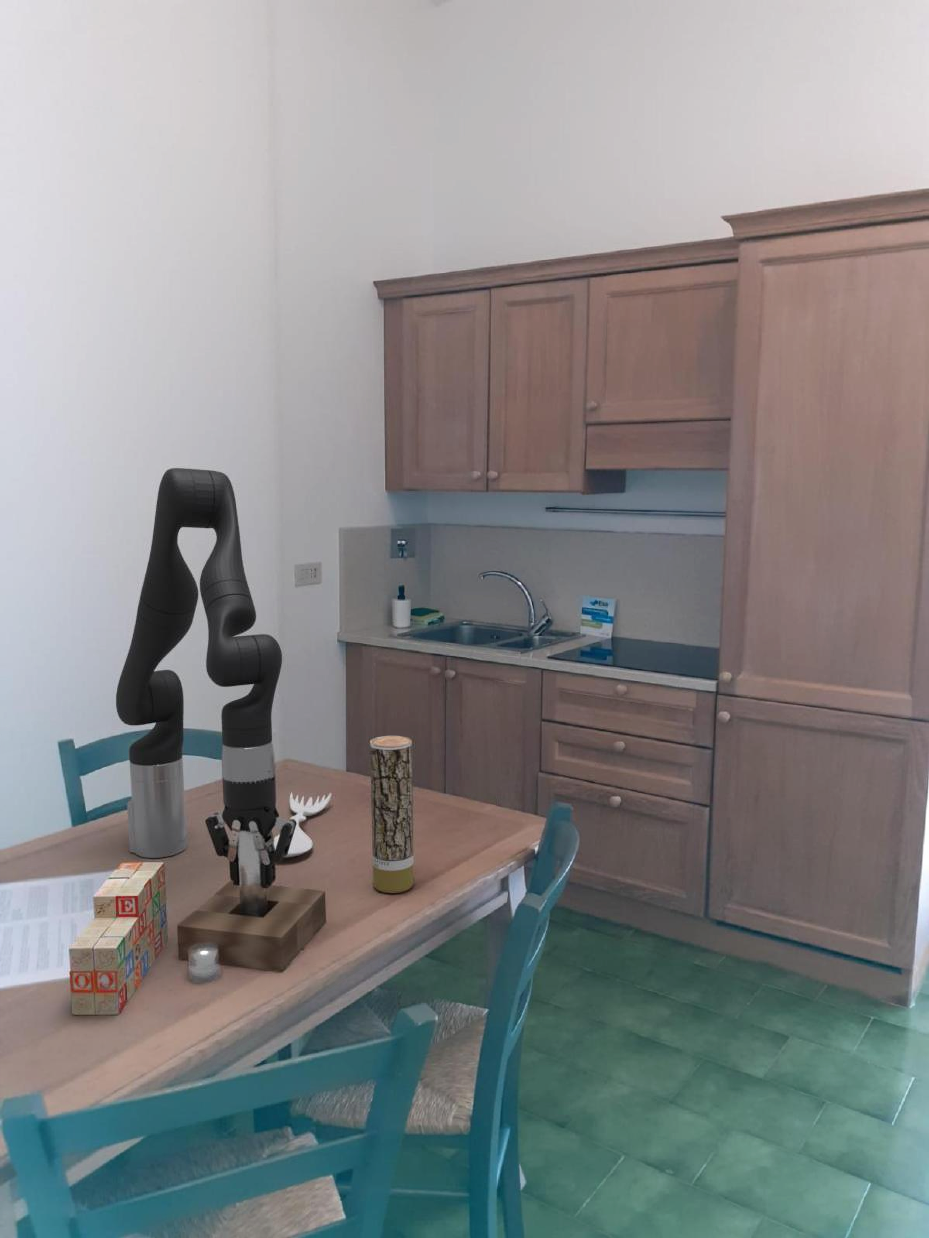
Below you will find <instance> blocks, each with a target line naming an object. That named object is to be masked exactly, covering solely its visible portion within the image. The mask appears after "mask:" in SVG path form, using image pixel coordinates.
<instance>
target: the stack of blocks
mask: <svg viewBox="0 0 929 1238" xmlns="http://www.w3.org/2000/svg"><path fill="white" fill-rule="evenodd" d="M165 879H166V878H165V863H164V862H162V861H160V862H157V861H156V862H152V861H151V862H148V861H144V862H122V863H121V864H119V866H118V867H117V868H116V869H115V870H113V871H112V872H111V874H110V875H109V876H108V878H107V879H106V880H105V881H104V882H103V884H102V885H101V886H100V888H99V889H98V890H97V891H96V893H95V894H94V895H93V897H92V898H93V916H94V917H93V919H92V920H91V921H90V922H89V923H88V925H86V927H85V928H84V929H83V930H82V931H81V932H80V933H79V935H78V936H77V937H76V939H75V940H74V942H73V943H72V944H71V945H70V947H69V949H68V955H69V957H68V958H69V969H70V970H69V985H70V986H69V987H70V988H69V989H70V997H71V999H70V1000H71V1013H72V1014H71V1015H76V1016H77V1015H81V1016H83V1015H85V1016H87V1015H88V1016H89V1015H92V1016H94V1015H96V1016H98V1015H101V1016H102V1015H103V1016H106V1015H107V1016H109V1015H111V1016H112V1015H113V1016H114V1015H119V1014H120V1013H121V1012H122V1010H123V1009H124V1007H125V1005H126V1004H127V1003H128V1002H129V1000H130V999H131V997H132V996H133V994H134V992H135V991H136V989H137V988H138V986H139V985H140V984H141V982H142V980H143V978H144V977H145V975H146V973H147V971H148V970H149V968H150V967H151V965H152V964H153V962H154V961H155V959H156V958H157V957H158V955H159V954H160V952H161V951H162V949H163V948H164V946H165V944H167V942H168V940H169V932H168V931H169V930H168V920H167V919H168V917H167V888H166V880H165Z"/></svg>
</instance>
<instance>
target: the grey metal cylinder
mask: <svg viewBox="0 0 929 1238" xmlns="http://www.w3.org/2000/svg"><path fill="white" fill-rule="evenodd" d="M188 955H189V960H188V971H189V972H188V973H189V980H190V981H191V982H192V983H195V984H206V983H210V982H214V981H216V980H218V978H219V977H220V975H221V974H220V964H219V949H218V945H217V944H216V943H213V942H201V943H197V944H195V945H193V946H191V947H190V948H189V950H188Z"/></svg>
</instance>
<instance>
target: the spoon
mask: <svg viewBox="0 0 929 1238" xmlns="http://www.w3.org/2000/svg"><path fill="white" fill-rule="evenodd" d="M299 797H300V796H299V794H297V795H296V797H295V799H294V794H293V792H290V795H289V808H290V810H291V811H292V812H293V813H294V814H295V815H293V816H291V817H290V818H289V819H290V820H291V819H294V820H295V821H296V823H297V824H296V828H295V831H294V834H293V838H292V841H291V844H290V848H289V851H288V854H287V855H286V856H285V857H283V858H292V857H293V858H294V857H296V856H300V855H303V854H305V853H307V852H309V851H310V850H311V849H312V848H313V846H314V844H313V840H312V838H310V837H309V835H307V834H306V833H305V831H303V830H302V828H301V827H300V823H301V822H304V821H306V820H307V817H311V816H313V815H316V814H318V813H320V812H321V811H323V810H324V808H325V807H326V806H327V805H328V803H329V802H330V801H331V799H332V792H329V793H328V795H327V797H326V795H325V794H323V796H322V797H321V800H320V796H319V795H318V796H317V798H316V800H315V802H314V804H313V801H314V800H313V797H312V796H310V797H309V798H308V800H307V802H306V804H305V796H304V795H303V796H302V798H301V799H299ZM299 800H300V802H299ZM290 820H289V821H290ZM279 836H280V834H277V835H276V836H275V837H274V836H273V837H274V847H275V849H276V846H277V843H278V839H279ZM283 858H282V859H283Z"/></svg>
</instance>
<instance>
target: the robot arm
mask: <svg viewBox="0 0 929 1238" xmlns="http://www.w3.org/2000/svg"><path fill="white" fill-rule="evenodd" d="M156 497H157V498H156V505H155V514H154V523H153V531H152V539H151V545H150V551H149V558H148V561H147V566H146V571H145V574H144V579H143V582H142V586H141V590H140V595H139V601H138V605H137V610H136V616H135V623H134V628H133V633H132V637H131V640H130V641H131V642H130V646H129V649H128V653H127V656H126V657H125V661H124V665H123V667H122V669H121V673H120V677H119V680H118V684H117V688H116V695H115V708H116V713H117V715H118V718H119V719H120V721H121V722H122V723H124V724H125V725H127V726H131V727H132V726H133V727H134V726H135V727H136V726H143V725H149V724H155V725H154V726H153V727H152V729H151V730H150V731H149V732H148V733H147V734H145V735H144V736H142V737H141V738H139V739H137V740H135V741H134V742H133V743H131V745H130V746H129V749H128V756H129V759H128V760H129V773H130V787H131V789H130V790H131V791H130V792H131V800H128V802H127V803H126V807H127V808H126V810H127V824H128V825H127V826H128V827H127V828H128V840H129V841H128V843H129V844H128V845H129V853H131V852H132V853H134V854H135V855H137V856H138V855H139V857H142V858H147V859H149V858H150V859H151V858H152V859H156V858H160V859H161V858H165V857H166V858H167V857H170V856H174V855H177V854H180V853H181V852H184V850H185V849H187V847H188V845H187V844H188V843H187V840H188V839H187V837H188V836H187V821H186V817H187V816H186V801H185V796H186V795H185V781H184V780H185V779H184V760H183V758H184V757H183V745H184V742H185V741H184V738H185V737H184V733H185V732H184V714H185V713H184V707H185V705H184V701H185V700H184V698H185V697H184V689H183V685H182V681H181V680H180V677H179V675H178V674H177V673H176V672H175V671H173V670H171V669H161V670H156V668H157V667H158V666H159V664H160V663H161V662H162V660H164V658H165V657H166V656H168V655H169V654H170V653H171V652H172V650H173V649H174V648H176V646H177V645H178V644H179V643H181V641H182V640H183V639H184V637H185V636H186V635H187V633H188V632H189V630H190V628H191V627H192V625H193V622H194V617H195V613H196V610H197V609H196V608H197V605H198V600H199V592H200V596H201V600H202V604H203V608H204V613H205V616H206V621H207V629H208V630H207V631H208V635H207V636H208V638H207V639H208V640H207V650H206V656H205V657H206V658H205V666H206V667H205V668H206V673H207V675H208V677H209V679H210V680H211V681H212V682H213V683H214V684H215V685H216V686H218V687H222V688H230V687H231V688H233V687H238V686H239V687H240V686H249V685H252V687H251V689H250V691H249V692H248V693H247V694H246V695H245V696H243V697H240V698H237V699H235V700H232V701H229V702H227V703H225V705H223V707H222V709H221V738H222V749H221V750H222V751H221V779H222V780H221V782H222V799H223V805H224V808H223V810H222V813H221V812H220V813H219V812H214V813H213V814H211V815H210V816H208V817H207V818H205V820H204V822H205V825H206V828H207V831H208V834H209V836H210V839H211V840H210V841H212V844H213V845H212V846H213V848H214V850H215V854H216V855H217V856H218V857H224V858H227V860H228V862H229V878H230V881H233V884H234V885H238V886H239V870H238V837H239V831H240V830H241V829H243V830H250V831H251V833H252V834H253V838H254V841H255V845H256V848H257V850H258V851H259V852H260V856H261V859H262V862H263V864H262V865H261V875H262V888H269V887H270V886H271V885H272V884H273V883H275V881H276V879H277V878H276V877H277V873H276V870H277V869H276V862H277V863H279V862H280V861H282V859H283V857H284V858H286V857H285V856H286V855H287V854H288V851H289V848H290V844H291V841H292V838H293V834H294V831H295V828H296V824H297V823H296V821H295V820H294V819H291V820H289V819H285V818H283V817H282V816H280V813H279V812H278V809H277V790H276V787H277V786H276V785H277V784H276V783H277V781H276V767H277V766H276V762H275V761H276V757H275V751H274V750H275V749H274V746H273V745H274V744H273V730H272V729H273V727H272V712H273V703H274V699H275V693H276V690H277V685H278V681H279V678H280V673H281V671H282V670H281V669H282V665H283V664H282V663H283V654H282V653H283V652H282V649H281V646H280V644H279V642H278V641H277V640H276V638H275V637H273V636H272V635H270V634H266V633H262V634H261V633H260V634H249V635H248V634H247V635H241V634H244V633H245V632H247V631H249V630H250V629H251V628H252V627H254V625H255V623H256V620H257V611H256V607H255V604H254V601H253V597H252V593H251V591H250V586H249V584H248V583H249V582H248V580H247V577H246V573H245V568H244V567H245V566H244V561H243V554H242V553H243V551H242V542H241V533H240V525H239V517H238V509H237V501H236V495H235V492H234V487H233V483H232V481H231V480H230V478H229V476H228V475H227V474H226V473H224V472H222V471H217V470H210V469H208V470H207V469H196V468H182V467H172V468H169V469H167V470H166V471H165V472H164V473H163V475H162V477H161V479H160V484H159V487H158V491H157V496H156ZM181 528H189V529H190V528H194V529H213V530H214V532H215V535H216V539H215V540H216V541H215V544H214V546H213V548H212V551H211V552H210V554H209V556H208V557H207V560H206V561H205V563H204V565H203V568H202V570H201V572H200V579H199V587H198V585H197V581H196V579H195V577H194V575H193V573H192V572H191V569H190V568H189V566H188V563H186V560H185V559H184V557H183V554H182V553H181V550H180V546H179V543H178V537H179V532H180V530H181ZM225 825H226V826H227V827H228V828H229V830H230V832H231V833H230V838H229V836H228V833H227V830H226V828H225ZM275 826H276V827H277V835H279V834H280V836H279V839H278V843H277V846H276V849H275V847H274V834H273V831H272V830H273V828H274V827H275ZM264 838H265V841H264ZM272 886H273V885H272Z"/></svg>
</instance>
